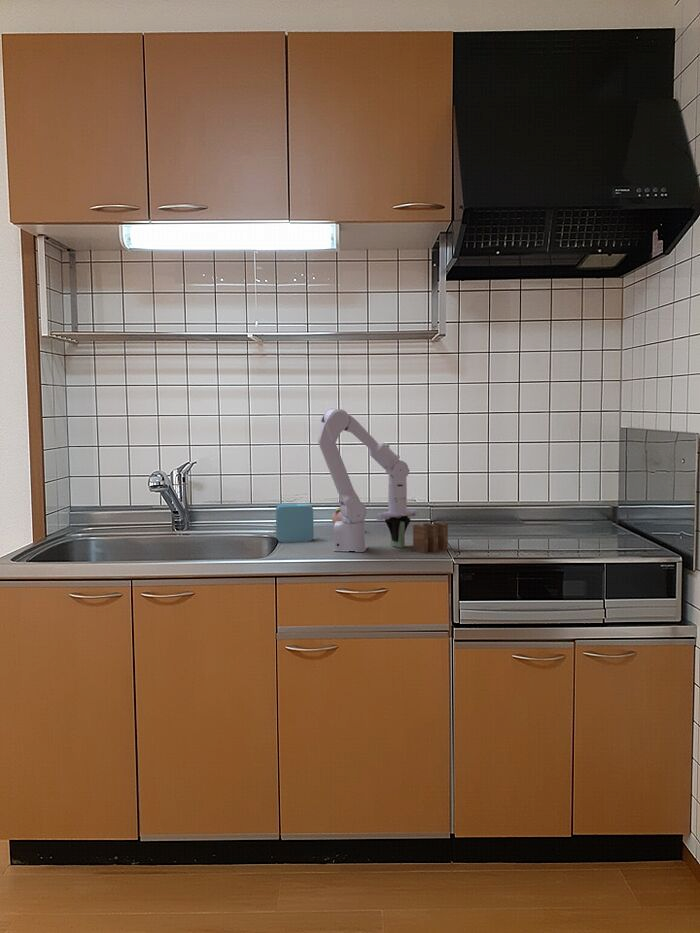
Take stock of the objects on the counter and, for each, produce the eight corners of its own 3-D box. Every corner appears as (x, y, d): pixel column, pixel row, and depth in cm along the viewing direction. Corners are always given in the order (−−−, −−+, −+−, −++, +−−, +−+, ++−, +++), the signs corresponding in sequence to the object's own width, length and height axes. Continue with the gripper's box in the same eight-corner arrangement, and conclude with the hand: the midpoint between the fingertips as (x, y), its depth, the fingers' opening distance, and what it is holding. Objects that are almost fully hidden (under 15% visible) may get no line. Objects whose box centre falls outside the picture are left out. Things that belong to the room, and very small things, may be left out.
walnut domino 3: (443, 550, 244) (443, 524, 243) (433, 547, 248) (433, 522, 247) (447, 549, 245) (447, 523, 244) (437, 547, 249) (437, 521, 248)
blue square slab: (312, 538, 265) (311, 503, 264) (313, 541, 261) (313, 505, 260) (276, 540, 264) (275, 504, 262) (277, 542, 259) (276, 506, 258)
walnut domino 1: (423, 553, 240) (423, 527, 239) (413, 550, 244) (413, 525, 243) (427, 552, 240) (427, 526, 240) (417, 550, 245) (417, 524, 244)
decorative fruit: (347, 536, 269) (346, 507, 268) (328, 533, 274) (328, 505, 273) (363, 532, 276) (363, 503, 275) (345, 529, 281) (344, 502, 280)
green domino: (400, 547, 247) (400, 522, 247) (390, 545, 251) (390, 520, 251) (404, 547, 248) (404, 521, 247) (394, 544, 252) (394, 519, 252)
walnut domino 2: (433, 551, 242) (433, 525, 241) (423, 549, 246) (423, 523, 245) (437, 551, 243) (437, 525, 242) (427, 548, 247) (427, 523, 246)
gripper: (386, 501, 241) (386, 545, 242) (423, 497, 249) (423, 540, 250) (373, 498, 247) (373, 541, 248) (409, 495, 255) (409, 536, 256)
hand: (397, 540), depth 250 cm, fingers closed on green domino, 1 cm apart
